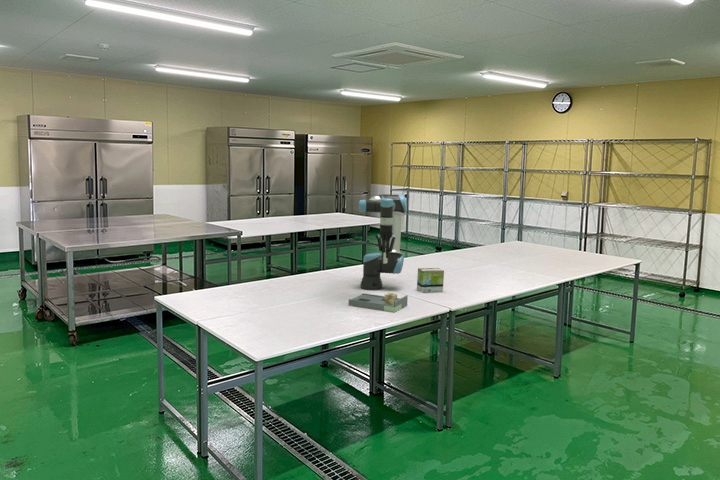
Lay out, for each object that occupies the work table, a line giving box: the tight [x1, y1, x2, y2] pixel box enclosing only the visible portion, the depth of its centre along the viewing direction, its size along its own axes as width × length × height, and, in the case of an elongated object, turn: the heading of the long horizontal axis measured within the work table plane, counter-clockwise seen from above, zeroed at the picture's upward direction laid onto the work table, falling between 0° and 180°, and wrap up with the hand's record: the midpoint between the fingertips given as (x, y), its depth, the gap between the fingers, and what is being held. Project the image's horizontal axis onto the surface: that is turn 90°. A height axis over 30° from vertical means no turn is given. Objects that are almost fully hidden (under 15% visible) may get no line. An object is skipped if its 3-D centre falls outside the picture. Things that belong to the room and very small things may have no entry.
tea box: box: [416, 267, 445, 293], centre depth 370 cm, size 15×10×15 cm
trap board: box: [348, 293, 409, 313], centre depth 330 cm, size 30×18×6 cm, turn 63°
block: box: [384, 292, 398, 305], centre depth 323 cm, size 6×6×6 cm
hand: (385, 263), depth 337 cm, fingers closed
